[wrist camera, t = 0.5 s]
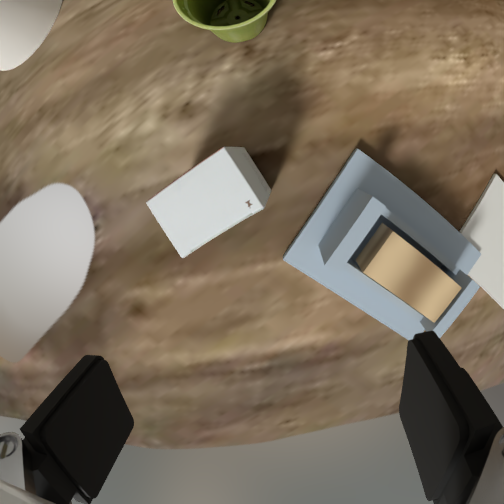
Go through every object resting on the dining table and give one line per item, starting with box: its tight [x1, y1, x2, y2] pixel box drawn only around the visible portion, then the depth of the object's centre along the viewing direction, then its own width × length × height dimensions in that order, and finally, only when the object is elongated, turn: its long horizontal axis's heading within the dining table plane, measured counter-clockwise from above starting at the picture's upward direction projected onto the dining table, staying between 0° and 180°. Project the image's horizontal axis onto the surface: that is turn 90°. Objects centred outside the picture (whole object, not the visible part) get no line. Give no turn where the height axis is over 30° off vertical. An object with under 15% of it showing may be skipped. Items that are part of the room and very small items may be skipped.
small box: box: [146, 147, 271, 258], centre depth 29 cm, size 8×6×10 cm
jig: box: [283, 149, 481, 340], centre depth 31 cm, size 20×14×8 cm
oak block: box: [356, 223, 462, 323], centre depth 29 cm, size 10×4×4 cm, turn 58°
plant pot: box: [173, 0, 276, 42], centre depth 24 cm, size 9×9×9 cm
